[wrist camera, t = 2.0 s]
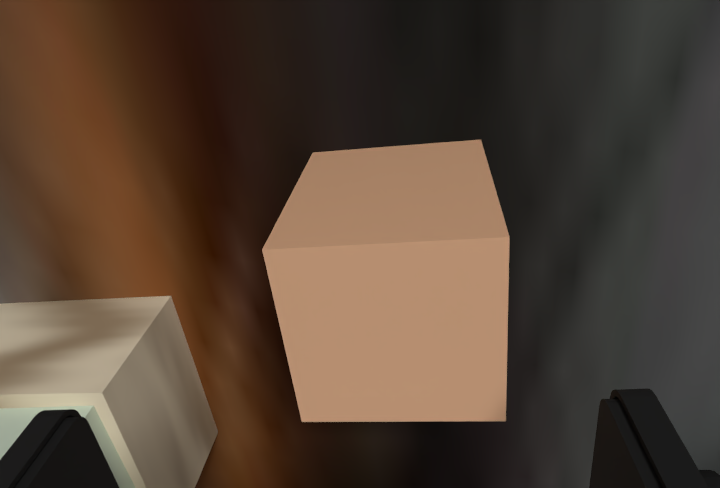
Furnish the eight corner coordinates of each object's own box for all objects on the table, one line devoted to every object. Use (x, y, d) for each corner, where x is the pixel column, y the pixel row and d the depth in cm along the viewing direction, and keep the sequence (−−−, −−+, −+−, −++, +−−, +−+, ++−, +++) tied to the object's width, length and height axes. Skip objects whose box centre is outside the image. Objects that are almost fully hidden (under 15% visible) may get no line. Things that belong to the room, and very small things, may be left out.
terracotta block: (480, 139, 16) (509, 237, 11) (481, 283, 18) (505, 421, 13) (313, 152, 16) (262, 249, 11) (335, 288, 19) (302, 422, 14)
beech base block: (172, 293, 20) (102, 392, 15) (219, 429, 23) (171, 542, 19) (1, 301, 21) (-110, 396, 16) (70, 430, 24) (-8, 538, 20)
